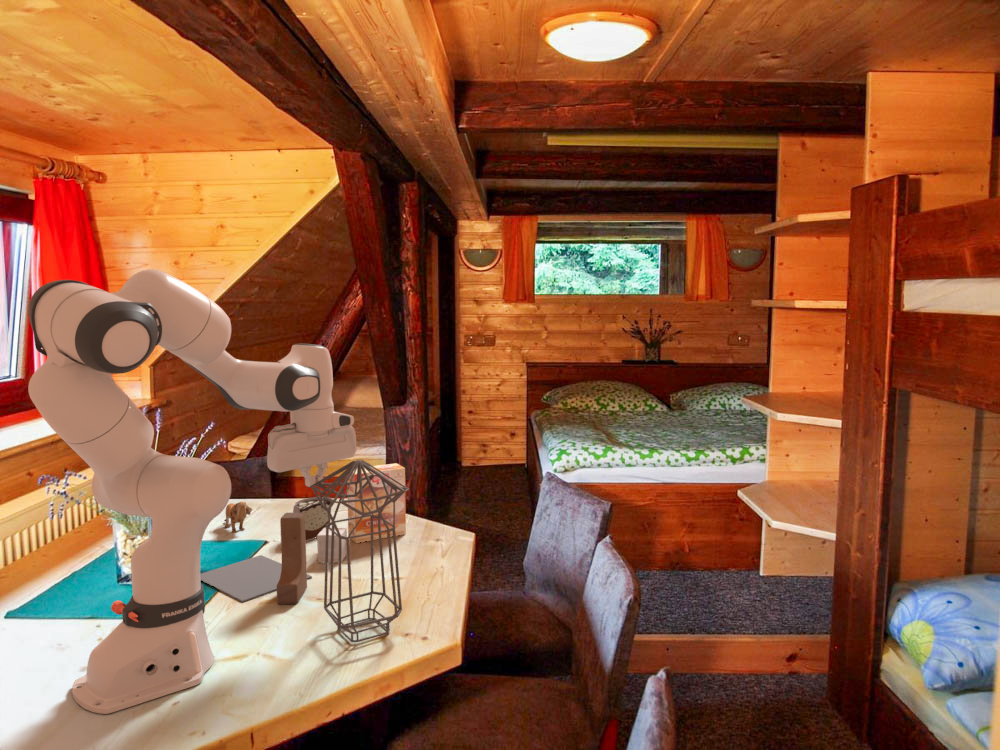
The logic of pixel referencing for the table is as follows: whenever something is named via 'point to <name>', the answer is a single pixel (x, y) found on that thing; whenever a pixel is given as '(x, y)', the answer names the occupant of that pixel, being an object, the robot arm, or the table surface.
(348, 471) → the geometric lantern
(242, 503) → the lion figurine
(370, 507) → the coffeecake box
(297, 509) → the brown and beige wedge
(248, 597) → the mat
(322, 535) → the product box
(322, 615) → the table surface
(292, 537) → the wooden block
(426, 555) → the table surface
